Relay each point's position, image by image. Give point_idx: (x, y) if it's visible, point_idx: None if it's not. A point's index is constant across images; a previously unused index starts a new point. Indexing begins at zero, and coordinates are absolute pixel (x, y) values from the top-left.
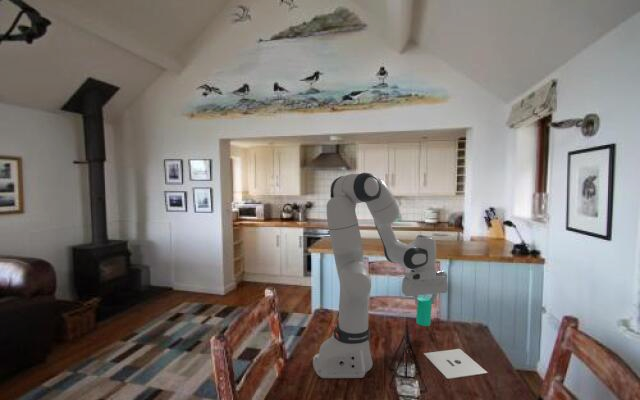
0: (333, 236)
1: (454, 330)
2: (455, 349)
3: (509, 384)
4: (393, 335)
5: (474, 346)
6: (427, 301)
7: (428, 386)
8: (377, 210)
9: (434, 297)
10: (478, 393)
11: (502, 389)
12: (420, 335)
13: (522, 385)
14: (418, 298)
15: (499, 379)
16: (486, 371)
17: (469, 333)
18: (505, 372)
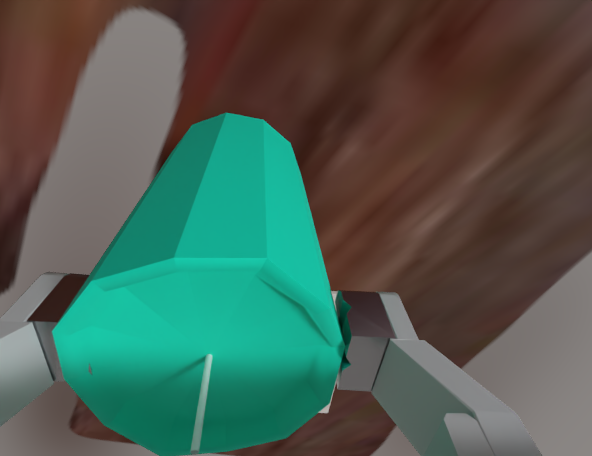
0: None
1: (523, 119)
2: (334, 294)
3: (343, 445)
4: (24, 34)
5: (447, 289)
6: (238, 392)
7: (86, 416)
8: None
9: (407, 432)
10: (226, 452)
11: (305, 453)
12: (244, 105)
13: (373, 452)
14: (97, 305)
15: (336, 430)
16: (328, 409)
17: (563, 182)
18: (386, 415)
